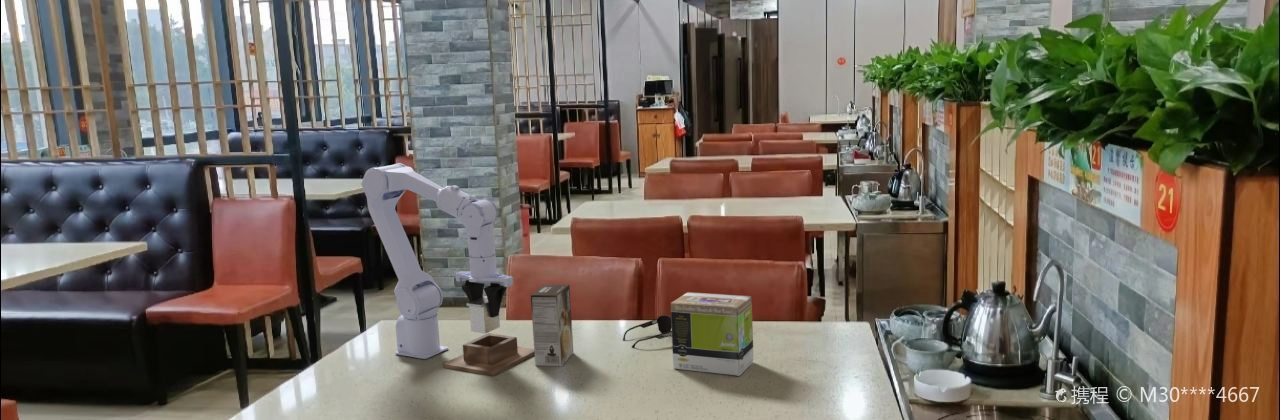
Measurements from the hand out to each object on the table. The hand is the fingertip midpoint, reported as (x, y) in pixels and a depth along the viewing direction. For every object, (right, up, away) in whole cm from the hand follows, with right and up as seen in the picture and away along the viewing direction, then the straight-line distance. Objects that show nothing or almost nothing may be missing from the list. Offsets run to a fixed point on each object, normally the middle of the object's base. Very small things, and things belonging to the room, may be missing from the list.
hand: (486, 315), depth 192 cm
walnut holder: (+1, -10, +2) cm, 10 cm away
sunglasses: (+36, -8, +11) cm, 39 cm away
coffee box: (+15, -10, +1) cm, 18 cm away
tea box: (+50, -10, -7) cm, 51 cm away
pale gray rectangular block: (0, -3, 0) cm, 3 cm away
